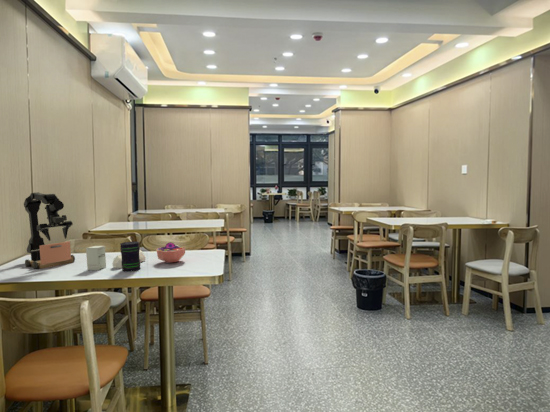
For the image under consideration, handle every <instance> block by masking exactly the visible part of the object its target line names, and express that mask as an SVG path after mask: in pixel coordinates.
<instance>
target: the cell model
mask: <svg viewBox="0 0 550 412" xmlns="http://www.w3.org/2000/svg"><path fill="white" fill-rule="evenodd" d="M155 251H156V257H157V259H158V260H160V261H162V262H166V263H168V264H169V263H177V262H179V261H180V260H182V258H183V257H184V256H185V254H186V247H185V246H182V245H176V244H175V243H174V242H168V243H165V245H164V246H161V247H157V248H156V249H155Z"/></svg>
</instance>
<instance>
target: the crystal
mask: <svg viewBox="0 0 550 412" xmlns="http://www.w3.org/2000/svg"><path fill="white" fill-rule="evenodd" d="M139 250H140V252H139V259H140V263H142V262H145V261H146V256H145V254H144V252H143V251H142V250H141V249H139ZM121 261H122V255H121V254H120V255H117V256H115V258H114V259H113V261H112V268H114V269H122V263H121Z"/></svg>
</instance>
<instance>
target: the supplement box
mask: <svg viewBox="0 0 550 412" xmlns="http://www.w3.org/2000/svg"><path fill="white" fill-rule="evenodd" d="M85 251H86V265H87V266H86V268H87V271H100V270H103V269H106V268H107V260H106V257H107V256H106V246H105V245H93V246H89V247H86V248H85Z"/></svg>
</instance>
